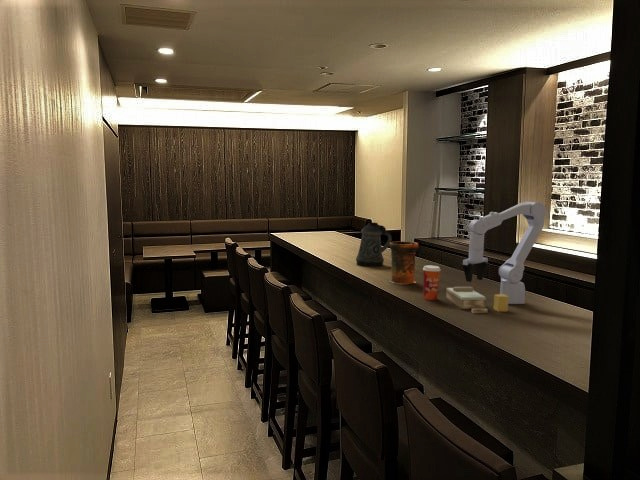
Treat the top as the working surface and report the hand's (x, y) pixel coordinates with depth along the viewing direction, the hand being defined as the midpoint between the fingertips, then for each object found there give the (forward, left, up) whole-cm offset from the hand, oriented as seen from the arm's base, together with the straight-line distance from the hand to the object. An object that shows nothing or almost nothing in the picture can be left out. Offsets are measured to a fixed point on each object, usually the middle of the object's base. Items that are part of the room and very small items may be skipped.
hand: (474, 280), depth 221 cm
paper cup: (+16, -8, -10) cm, 20 cm away
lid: (+4, +1, -6) cm, 7 cm away
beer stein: (+24, -96, -10) cm, 99 cm away
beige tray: (+4, +5, -10) cm, 11 cm away
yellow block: (-7, +12, -10) cm, 17 cm away
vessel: (+19, -44, -10) cm, 49 cm away
